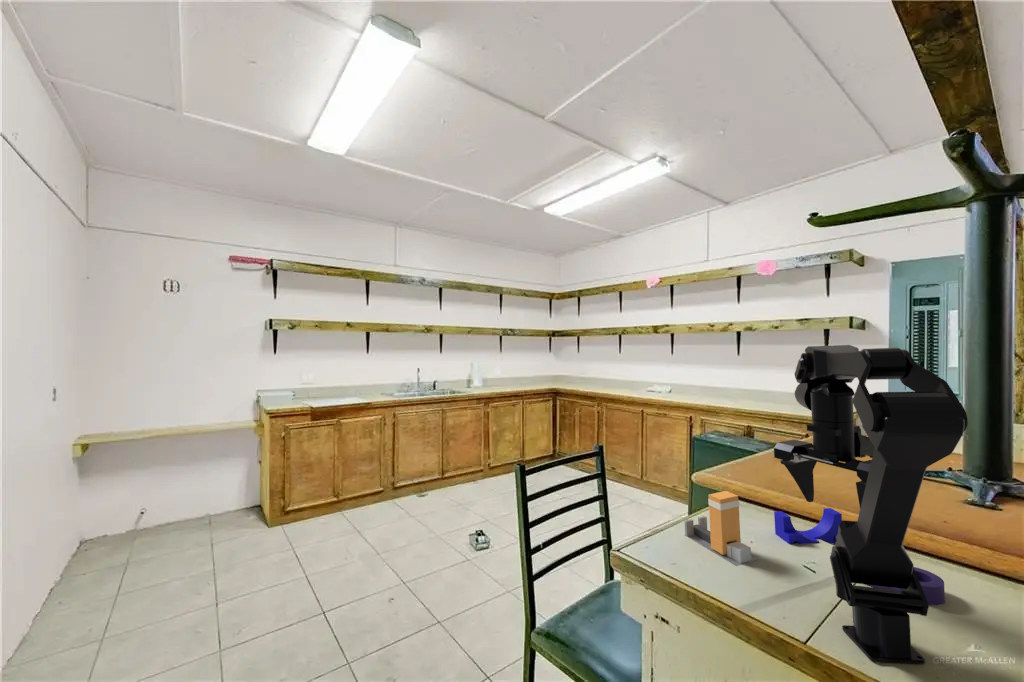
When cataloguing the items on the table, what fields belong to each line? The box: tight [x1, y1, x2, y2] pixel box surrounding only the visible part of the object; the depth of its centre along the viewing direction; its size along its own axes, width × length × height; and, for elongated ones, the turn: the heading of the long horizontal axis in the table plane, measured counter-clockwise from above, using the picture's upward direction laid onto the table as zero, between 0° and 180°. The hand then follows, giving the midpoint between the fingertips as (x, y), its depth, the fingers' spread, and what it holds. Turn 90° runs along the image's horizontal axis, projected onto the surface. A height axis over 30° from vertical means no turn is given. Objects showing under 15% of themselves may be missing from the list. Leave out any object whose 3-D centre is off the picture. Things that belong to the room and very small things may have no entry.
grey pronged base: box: [684, 515, 759, 567], centre depth 86 cm, size 14×5×4 cm, turn 19°
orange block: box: [707, 490, 742, 555], centre depth 85 cm, size 3×5×11 cm
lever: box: [863, 566, 946, 606], centre depth 72 cm, size 12×6×3 cm, turn 47°
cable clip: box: [773, 507, 843, 545], centre depth 88 cm, size 12×4×6 cm, turn 90°
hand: (836, 511), depth 73 cm, fingers open, 9 cm apart
